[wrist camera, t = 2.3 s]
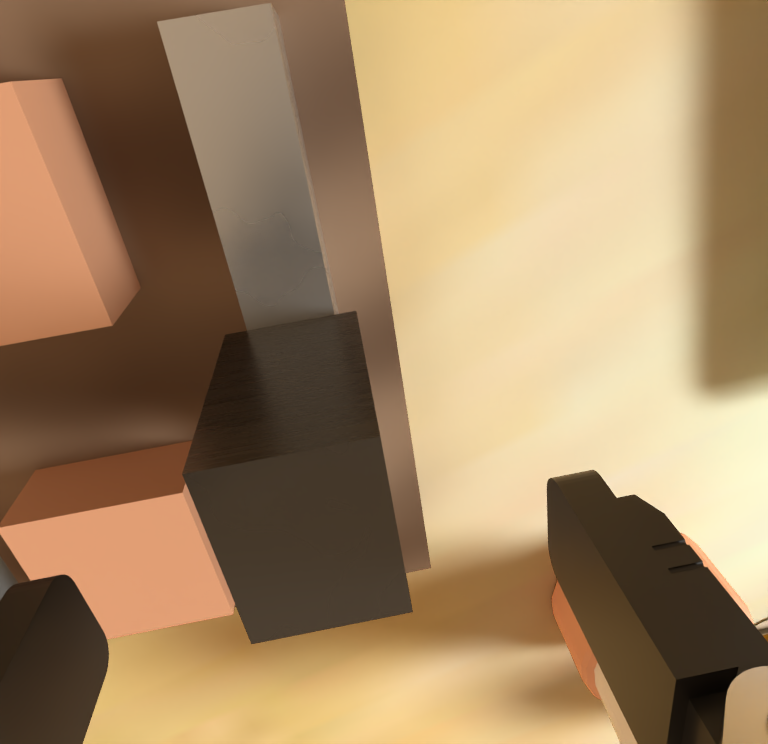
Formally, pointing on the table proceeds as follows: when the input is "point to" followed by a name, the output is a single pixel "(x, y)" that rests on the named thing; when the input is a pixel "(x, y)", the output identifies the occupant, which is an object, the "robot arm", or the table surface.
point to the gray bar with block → (280, 357)
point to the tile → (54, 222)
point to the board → (186, 243)
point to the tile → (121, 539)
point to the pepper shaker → (587, 660)
